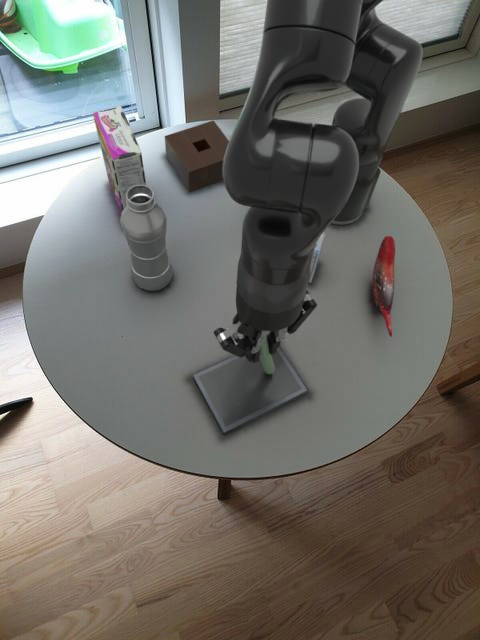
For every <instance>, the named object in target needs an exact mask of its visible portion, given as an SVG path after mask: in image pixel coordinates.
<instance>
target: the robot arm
mask: <svg viewBox="0 0 480 640" xmlns="http://www.w3.org/2000/svg"><path fill="white" fill-rule="evenodd" d="M383 1H384V0H266V6H265V7H266V8H265V14H264V22H263V31H262V37H261V38H262V39H261V44H260V51H259V56H258V60H257V64H256V69H255V72H254V77H253V79H252V82H251V85H250V87H249V91H248V94H247V96H246V99H245V102H244V104H243V107H242V110H241V112H240V114H239V117H238V119H237V121H236V124H235V126H234V128H233V129H232V130H233V131H232V132H231V135H230V137H229V139H228V140H229V143H228V145H227V148H226V151H225V154H224V159H223V165H222V175H223V180H222V181H223V184H224V188H225V189H226V192H227V193H228V194H229V195H228V196H229V197H230V198H231V199H232V200H233V202H235V203H236V204H239V205H241V206H244V207H249V208H248V209H247V211H246V213H245V215H244V218H243V221H242V227H241V228H242V229H241V247H240V254H239V259H238V262H237V271H236V272H237V273H236V289H235V290H236V291H235V306H236V314H235V316H234V317H233V318H232V325H230V326H228V327H226V328H223V327H218V328H216V329H215V330H213V335H214V336H215V339H216V340H217V341H218V343H219V345H220V347H221V348H222V350H223V351H224V352H227V353H229V354H231V355H232V356H235V355H236V356H238V357H244V356H246V358H247V359H248V361H249V362H250V361H252V362H253V363H256V362H258V361H259V356H260V347H261V345H263V344H265V341H266V338H267V342H268V345H269V351H270V354H271V355H273V354H275V353H276V351H277V348H279V347H280V346H281V342H282V341H283V340H284V339H285V337H286V334H287V333H288V334H289V335H292V334H295V333H296V332H297V331H298V329H299V328H300V327H301V326H302V324H303V323H304V322H305V321H307V319H308V318H309V316H310V315H311V314H312V313H313V312H314V310H315V309H316V308H317V307H318V303H317V302H316V300H315V299H314V297H313V295H311V293H310V292H309V291H308V286H309V284H310V283H309V279H310V273H311V261H312V257H313V253H314V249H315V246H316V242H317V241H318V239H319V238H320V236H321V235H322V233H325V232H326V229H328V227H329V226H330V225H337V226H347V225H350V224H353V223H355V222H356V221H358V220H359V219H360V218H361V217H362V215H363V212H364V211H365V210H368V207H369V204H370V202H371V199H372V197H373V195H374V191H375V189H376V186H377V183H378V181H379V178H380V175H381V168H380V164H381V161H382V159H383V156H384V154H385V151H386V148H387V145H388V142H389V140H390V137H391V135H392V132H393V130H394V128H395V126H396V124H397V122H398V120H399V117H400V116H401V114H402V110H403V108H404V105H405V103H406V101H407V98H408V96H409V94H410V92H411V89H412V88H413V85H414V82H415V80H416V78H417V76H418V73H419V71H420V69H421V65H422V62H423V55H424V54H423V53H424V51H423V45H422V44H421V43H420V42H419V41H418V40H416V39H414V38H412V37H411V36H409V35H407V34H405V33H404V32H401V31H400V30H397V29H396V28H394V27H392V26H390V25H388V24H387V23H385V22H383V21H382V20H381V19H379V17H378V15H377V12H376V7H377V6H379V4H381V3H382V2H383ZM343 86H344V87H346V88H347V89H348V90H350V91H352V92H354V93H355V94H357V95H359V96H360V97H358V98H351V99H349V100H348V99H347V100H345V101H344V102H343V103H341V104H340V105H339V106H338V107H337V108H336V110H335V112H334V115H333V118H332V122H331V125H330V124H326V123H319V122H318V123H316V122H315V123H312V122H308V121H303V120H293V119H287V118H278V117H276V113H277V111H278V109H279V107H280V106H282V104H283V103H284V102H285V101H286V100H289V99H290V98H292V97H295V96H298V95H299V96H300V95H305V94H316V93H325V92H330V91H334V90H338V89H339V88H341V87H343ZM239 334H240V335H242V338H240V337H239V336H238V335H239Z"/></svg>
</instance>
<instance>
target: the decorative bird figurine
mask: <svg viewBox="0 0 480 640" xmlns="http://www.w3.org/2000/svg"><path fill="white" fill-rule="evenodd" d="M395 259H396V243H395V239H394V237H393V236H390V235H385V236H384V237H383V239H382V241H381V243H380V245H379V248H378V252H377V255H376V258H375V261H374V265H373V271H372V284H371V285H372V286H371V287H372V296H373V301H374V303H375V306H376V308H375V309H376V310H377V312H378V313H379V314H380V315H381V316H382V317H383V319H384V322H385V325H386V328H387V332H388V335H389V336H390V338H392V337H393V329H392V328H393V327H392V320H391V311H392V308H393V302H394V301H393V300H394V293H395Z"/></svg>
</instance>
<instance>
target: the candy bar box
mask: <svg viewBox="0 0 480 640" xmlns="http://www.w3.org/2000/svg"><path fill="white" fill-rule="evenodd" d="M92 116H93V120H94V124H95V129H96V133H97V138H98V142H99V145H100V150H101V155H102V158H103V159H102V160H103V164H104V166H105V172H106V175H107V180H108V181H107V182H108V185H109V188H110V190H111V192H112V195H113V198H114V200H115V203H116V206H117V208H118V210H119V213H120V215H121V214H122V211H123V210H124V208H125V207H126V206H127V204H126V200H127V199H126V193H127V191H128V189H129V188H131V187H133V186H135V185H145V186H147V181H146V174H145V168H144V162H143V155H142V154H143V153H142V150H141V148H140V144H139V143H138V140H137V138H136V136H135V133H134V131H133V129H132V127H131V125H130V123H129V120H128V118H127V116H126V114H125V111H124V110H123V107H122V106H117V107H113V108H107V109H104V110H97V111H94V112H92Z"/></svg>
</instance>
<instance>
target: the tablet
mask: <svg viewBox="0 0 480 640" xmlns="http://www.w3.org/2000/svg"><path fill="white" fill-rule="evenodd" d="M272 359H273V362H274V366H275V371H274V373H272V374H267V373H266V372H265V371H264V368H263V365H262V362H261V359H260V356H259V361H258V362H256V363H253V362H252V361H250V362H249V361H248V359H247V358H246V356H244V357H238V356H236V355H232V356H231V357H229V358H227V359H224V360H222V361H220V362H218V363H216V364H214V365H212V366H209V367H207V368H205V369H203V370H200V371H199V372H196V373H194V374H192V380H193V381H194V384H195V385H196V387H197V390H198V391H199V393H200V395H201V396H202V398H203V400H204V402H205V404H206V406H207V408H208V409H209V411H210V413H211V415H212V417H213V419H214V421H215V423H216V424H217V427H218V428H219V430H220V432H221V434H222V436H226V435H228V434H230V433H232V432H233V431H235V430H238V429H239V428H242V427H244V426H246V425H247V424H250V423H252V422H253V421H255V420H257V419H259V418H262V417H264V416H265V415H267V414H269V413H271V412H273V411H275V410H277V409H279V408H282V407H283V406H285V405H287V404H289V403H291V402H293V401H295V400H297V399H299V398H301V397H302V396H305V395H307V394H308V391H309V390H308V389H307V387H306V385H305V384H304V382H303V381H302V379H301V378H300V376H299V374H298V373H297V372H296V370H295V369H294V366H292V363H291V362H290V361H289V359H288V357H287V356H286V354H285V353H284V351H283V350H282V348H281V347H280V346H279V348H277V351H276V353H275V354H273V355H272Z"/></svg>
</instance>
